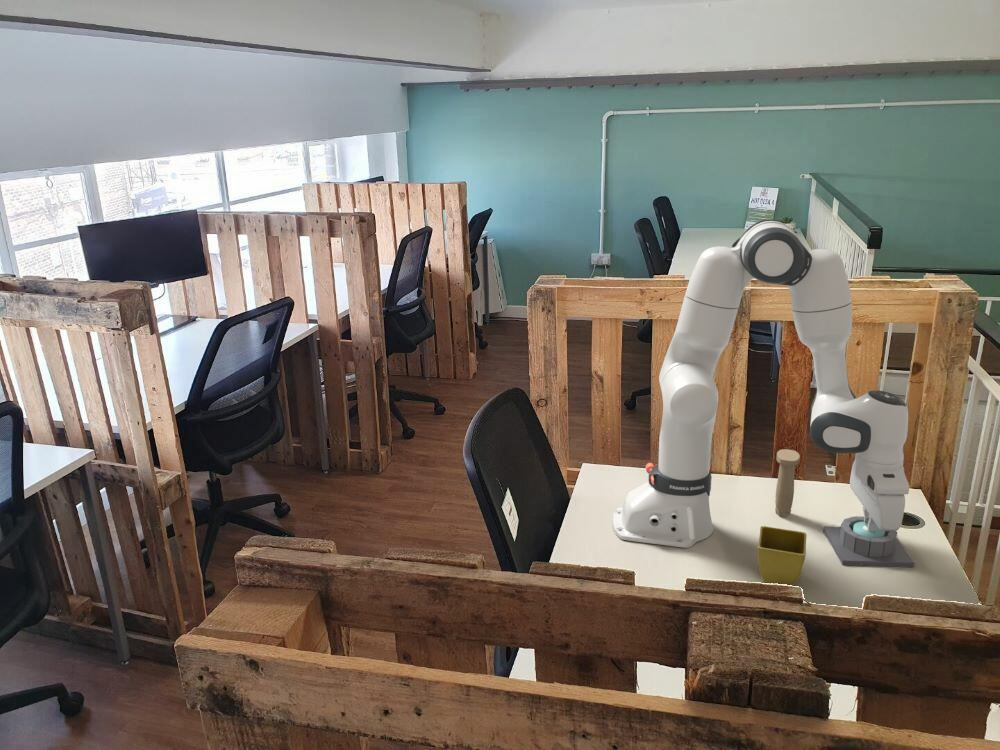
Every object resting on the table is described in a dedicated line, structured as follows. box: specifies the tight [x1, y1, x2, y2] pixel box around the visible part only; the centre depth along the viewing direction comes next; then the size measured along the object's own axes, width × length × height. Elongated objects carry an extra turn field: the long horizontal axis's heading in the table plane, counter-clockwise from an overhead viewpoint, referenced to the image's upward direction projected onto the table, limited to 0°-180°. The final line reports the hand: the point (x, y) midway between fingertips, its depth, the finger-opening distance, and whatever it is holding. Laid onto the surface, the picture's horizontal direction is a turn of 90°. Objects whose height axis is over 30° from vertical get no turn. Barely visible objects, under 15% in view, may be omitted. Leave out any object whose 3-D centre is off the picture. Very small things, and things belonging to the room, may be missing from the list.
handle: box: [774, 448, 801, 518], centre depth 177 cm, size 5×6×15 cm
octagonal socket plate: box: [822, 515, 916, 568], centre depth 163 cm, size 14×14×5 cm
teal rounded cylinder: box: [853, 522, 885, 538], centre depth 163 cm, size 6×6×4 cm
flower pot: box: [757, 525, 807, 586], centre depth 153 cm, size 9×9×9 cm
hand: (870, 528), depth 163 cm, fingers closed, pressing on teal rounded cylinder
